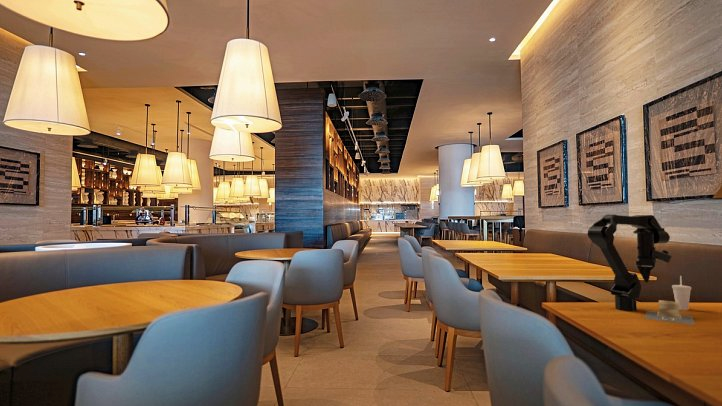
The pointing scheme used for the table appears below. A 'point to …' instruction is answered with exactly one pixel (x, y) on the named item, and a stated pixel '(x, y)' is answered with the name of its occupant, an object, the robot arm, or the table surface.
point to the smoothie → (682, 295)
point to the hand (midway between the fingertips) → (647, 280)
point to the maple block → (669, 309)
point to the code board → (670, 318)
